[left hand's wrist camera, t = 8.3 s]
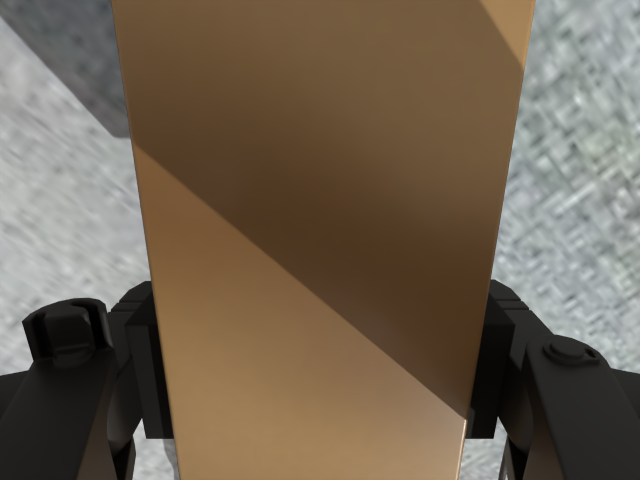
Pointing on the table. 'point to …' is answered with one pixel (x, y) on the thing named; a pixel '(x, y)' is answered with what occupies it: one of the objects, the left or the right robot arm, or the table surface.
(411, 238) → the bar
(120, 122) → the table surface
